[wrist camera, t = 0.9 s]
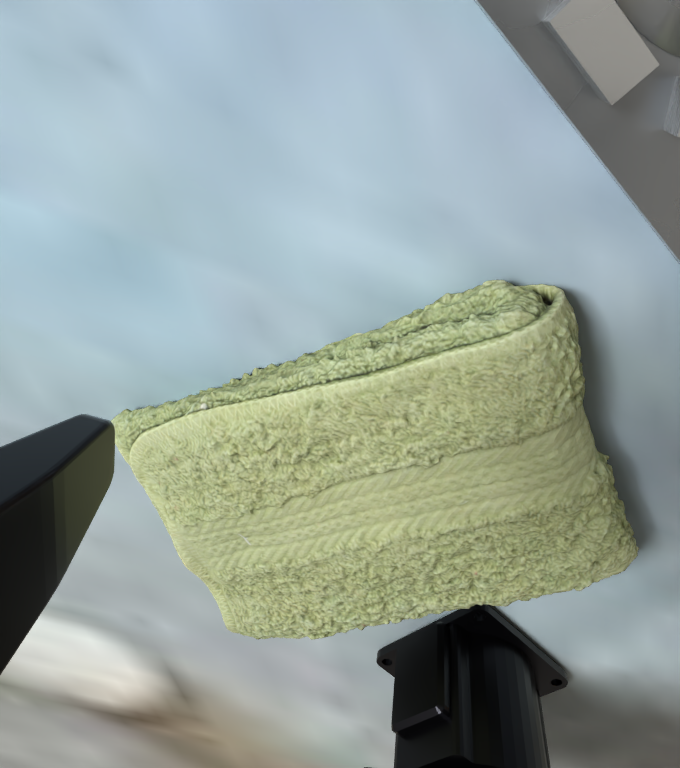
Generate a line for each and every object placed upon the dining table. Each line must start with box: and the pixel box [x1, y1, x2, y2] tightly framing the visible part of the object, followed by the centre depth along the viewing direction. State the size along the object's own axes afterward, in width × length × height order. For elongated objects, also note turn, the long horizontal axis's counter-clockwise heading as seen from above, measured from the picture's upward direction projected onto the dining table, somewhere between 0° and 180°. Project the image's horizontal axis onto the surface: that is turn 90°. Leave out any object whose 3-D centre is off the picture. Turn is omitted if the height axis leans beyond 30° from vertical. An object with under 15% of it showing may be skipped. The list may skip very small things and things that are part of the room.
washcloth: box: [111, 280, 639, 640], centre depth 23 cm, size 13×18×3 cm
